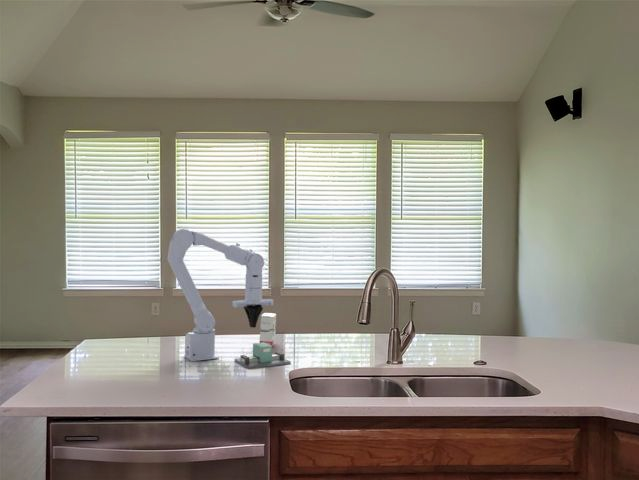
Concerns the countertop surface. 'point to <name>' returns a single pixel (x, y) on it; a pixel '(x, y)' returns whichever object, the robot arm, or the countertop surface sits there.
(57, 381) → the countertop surface
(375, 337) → the countertop surface
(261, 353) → the block
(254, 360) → the rail plate
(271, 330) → the ink box
